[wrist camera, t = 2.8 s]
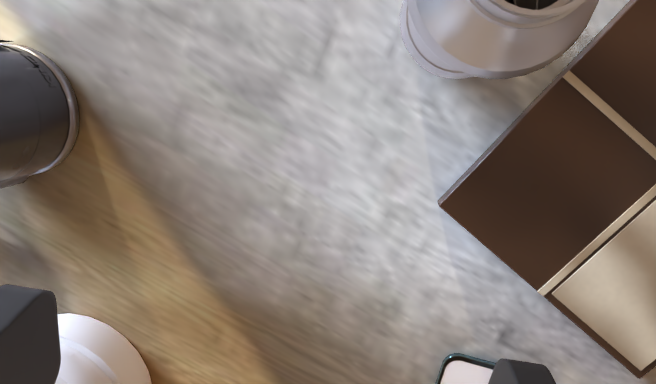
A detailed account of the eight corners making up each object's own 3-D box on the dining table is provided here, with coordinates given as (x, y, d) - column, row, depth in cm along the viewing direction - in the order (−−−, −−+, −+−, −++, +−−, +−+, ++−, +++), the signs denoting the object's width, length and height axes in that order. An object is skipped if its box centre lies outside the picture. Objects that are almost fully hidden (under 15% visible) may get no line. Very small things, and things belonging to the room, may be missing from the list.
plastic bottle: (460, -56, 30) (575, -306, 10) (529, 32, 30) (759, -52, 11) (378, 19, 31) (346, -79, 12) (445, 101, 32) (516, 133, 13)
